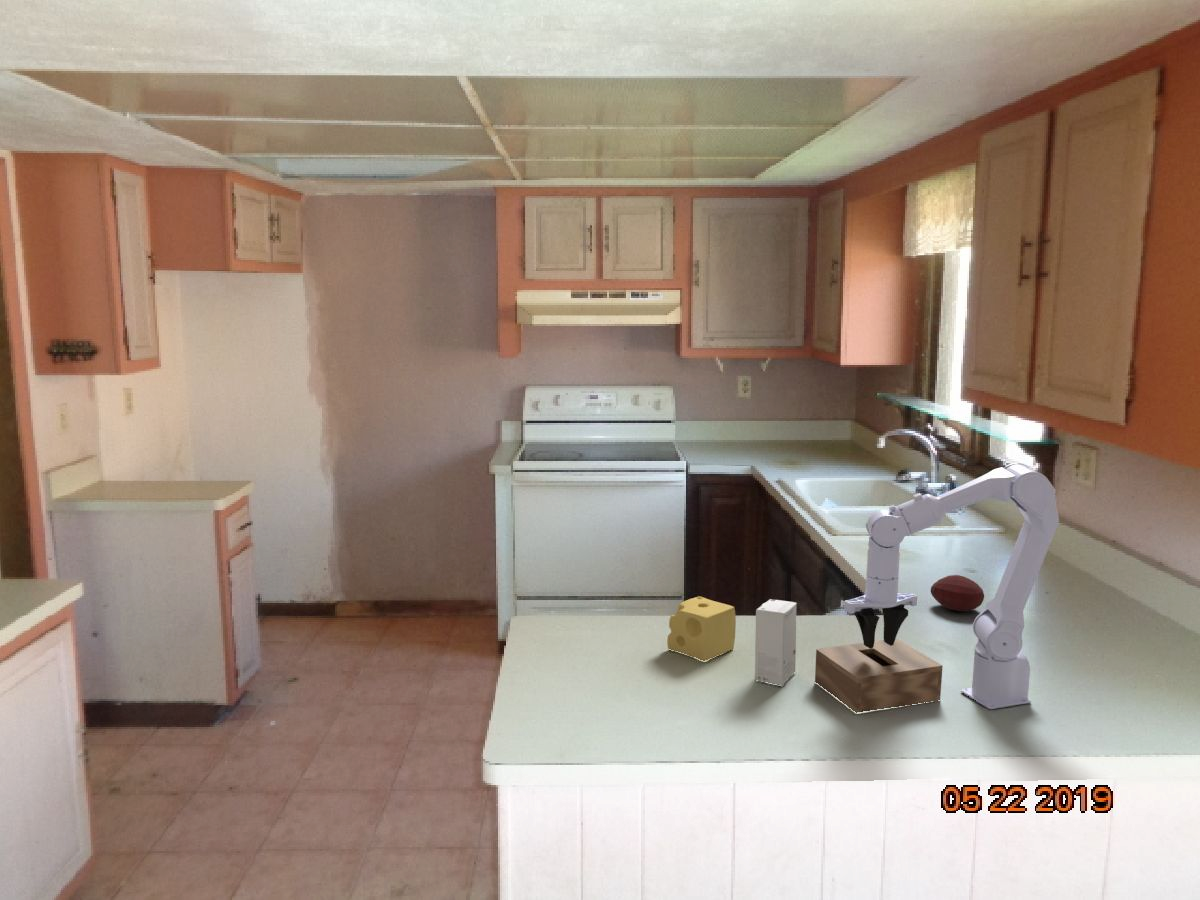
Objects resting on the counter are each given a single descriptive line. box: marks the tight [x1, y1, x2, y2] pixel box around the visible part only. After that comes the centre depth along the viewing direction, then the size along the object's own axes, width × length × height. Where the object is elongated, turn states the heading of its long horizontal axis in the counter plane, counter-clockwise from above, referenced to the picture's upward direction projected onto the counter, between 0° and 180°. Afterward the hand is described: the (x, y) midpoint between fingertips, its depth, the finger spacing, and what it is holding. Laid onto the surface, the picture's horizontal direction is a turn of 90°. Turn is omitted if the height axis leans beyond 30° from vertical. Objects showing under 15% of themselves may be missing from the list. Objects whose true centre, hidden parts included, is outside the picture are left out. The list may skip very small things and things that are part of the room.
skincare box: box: [754, 598, 798, 687], centre depth 177 cm, size 8×6×15 cm
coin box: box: [814, 638, 943, 713], centre depth 171 cm, size 18×14×7 cm
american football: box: [930, 574, 985, 612], centre depth 215 cm, size 12×11×8 cm
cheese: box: [667, 595, 737, 661], centre depth 191 cm, size 10×11×10 cm
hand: (878, 645), depth 170 cm, fingers open, 4 cm apart
